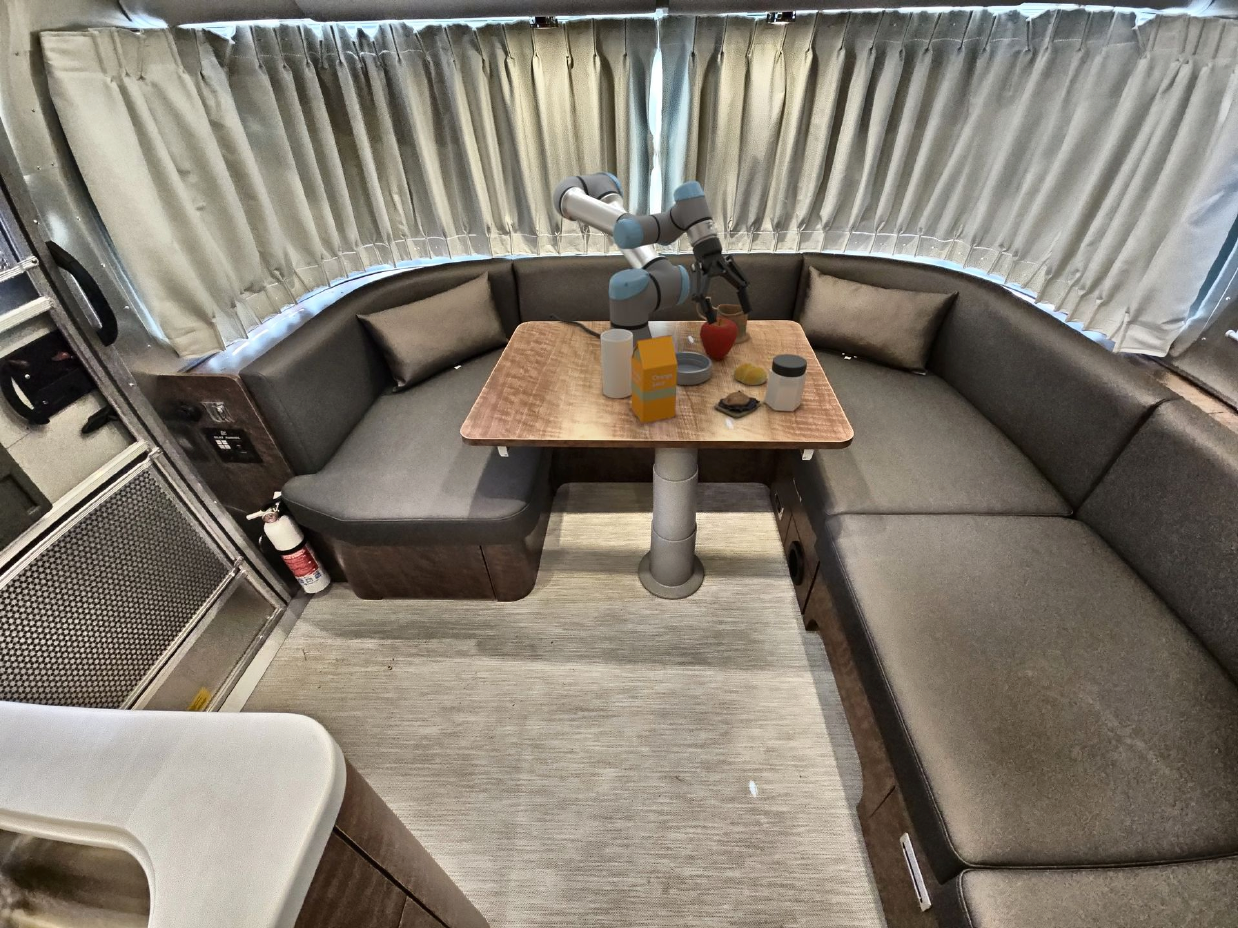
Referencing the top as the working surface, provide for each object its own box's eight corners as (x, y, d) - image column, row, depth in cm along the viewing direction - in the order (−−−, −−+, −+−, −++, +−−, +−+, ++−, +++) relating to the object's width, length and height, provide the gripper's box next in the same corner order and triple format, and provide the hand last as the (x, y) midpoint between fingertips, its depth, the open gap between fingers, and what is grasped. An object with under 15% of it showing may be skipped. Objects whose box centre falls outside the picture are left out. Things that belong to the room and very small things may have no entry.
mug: (699, 326, 182) (702, 291, 175) (751, 332, 176) (756, 296, 169) (689, 338, 173) (691, 302, 166) (743, 346, 167) (748, 308, 160)
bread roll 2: (737, 420, 131) (739, 407, 128) (711, 407, 136) (712, 395, 134) (764, 405, 136) (766, 393, 134) (738, 394, 141) (739, 381, 139)
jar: (806, 408, 134) (815, 365, 127) (778, 415, 132) (786, 370, 125) (785, 393, 141) (793, 351, 134) (759, 399, 139) (765, 356, 132)
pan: (651, 373, 153) (651, 360, 151) (687, 360, 159) (688, 347, 157) (683, 391, 144) (684, 377, 141) (721, 376, 150) (722, 363, 148)
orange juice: (675, 416, 133) (679, 340, 121) (642, 423, 130) (643, 347, 119) (662, 402, 139) (664, 329, 127) (631, 409, 136) (630, 334, 125)
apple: (701, 348, 166) (704, 310, 159) (736, 351, 164) (740, 313, 157) (695, 363, 158) (698, 324, 150) (732, 367, 155) (736, 327, 148)
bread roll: (754, 389, 143) (756, 375, 141) (728, 378, 149) (729, 365, 147) (772, 379, 148) (775, 366, 145) (747, 369, 153) (748, 356, 151)
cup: (611, 401, 140) (609, 343, 131) (598, 388, 146) (595, 332, 137) (638, 393, 143) (638, 337, 134) (624, 381, 149) (623, 326, 140)
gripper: (678, 242, 133) (706, 323, 135) (746, 229, 145) (771, 303, 147) (661, 255, 140) (688, 332, 142) (728, 242, 152) (752, 313, 154)
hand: (731, 318), depth 144 cm, fingers open, 13 cm apart
